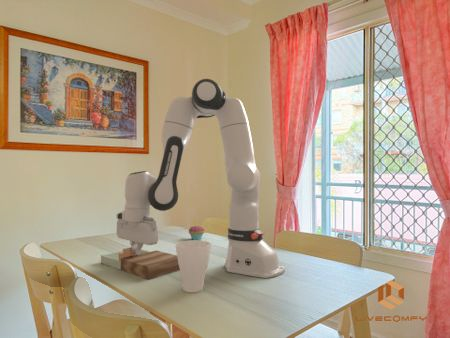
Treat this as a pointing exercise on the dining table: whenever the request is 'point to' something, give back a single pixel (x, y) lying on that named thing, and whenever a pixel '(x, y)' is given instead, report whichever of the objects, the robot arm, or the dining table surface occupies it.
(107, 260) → the tray
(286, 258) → the dining table surface
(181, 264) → the cup
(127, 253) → the tile
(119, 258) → the tile
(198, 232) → the cupcake
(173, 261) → the board
